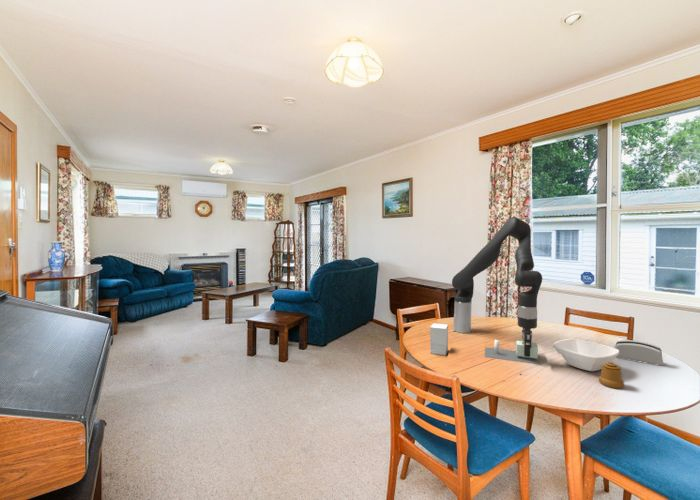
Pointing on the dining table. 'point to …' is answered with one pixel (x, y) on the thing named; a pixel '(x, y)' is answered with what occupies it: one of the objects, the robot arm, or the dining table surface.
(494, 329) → the dining table surface
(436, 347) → the supplement box
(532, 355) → the collar
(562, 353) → the bowl
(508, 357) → the board
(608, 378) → the ornamental finial
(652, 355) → the grey curved slab
